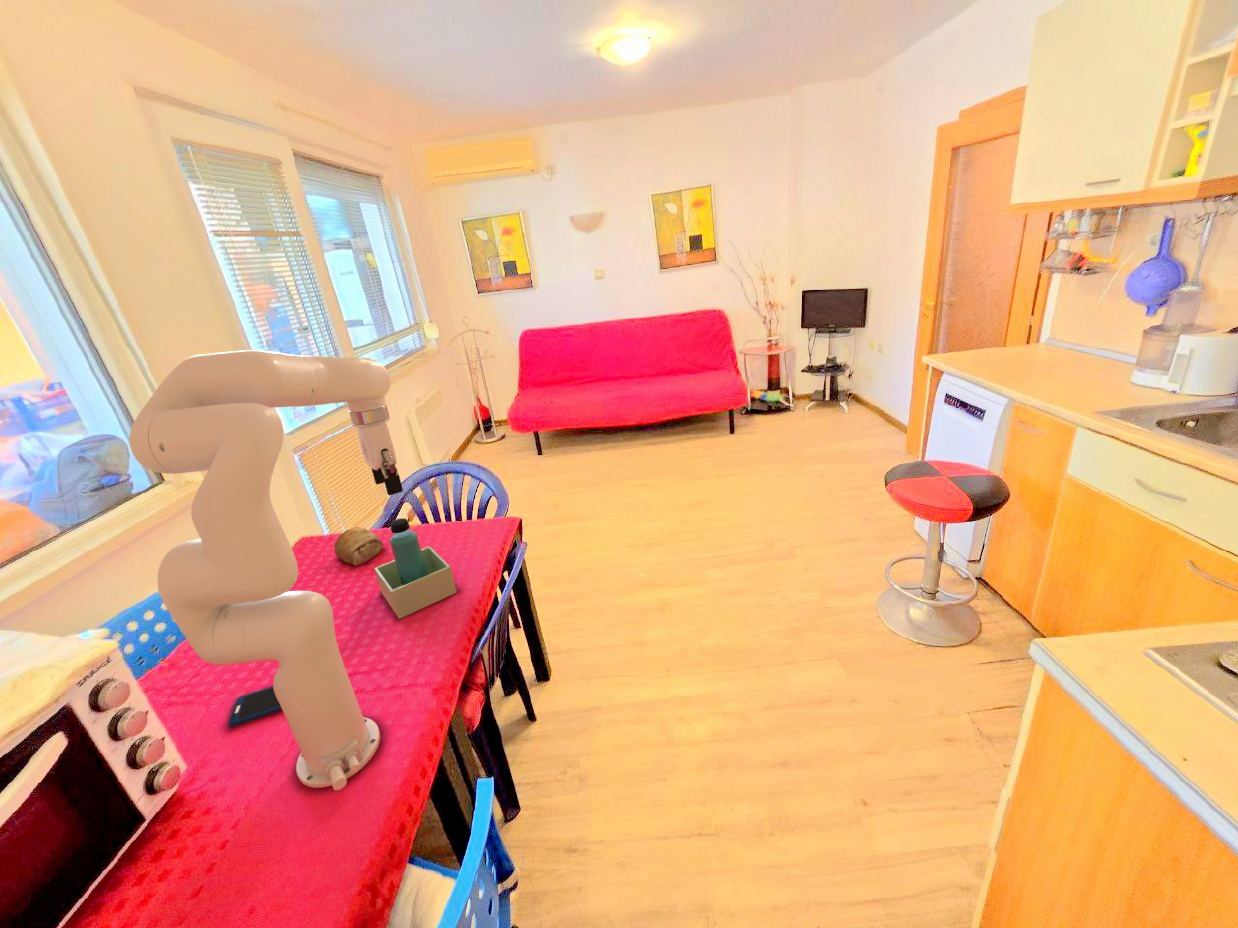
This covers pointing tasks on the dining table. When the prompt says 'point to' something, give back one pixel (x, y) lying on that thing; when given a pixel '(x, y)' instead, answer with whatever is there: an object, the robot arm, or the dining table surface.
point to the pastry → (357, 546)
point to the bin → (416, 584)
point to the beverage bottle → (407, 552)
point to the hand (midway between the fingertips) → (389, 487)
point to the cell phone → (254, 706)
